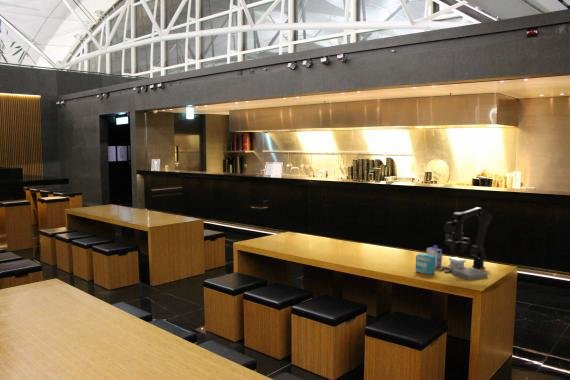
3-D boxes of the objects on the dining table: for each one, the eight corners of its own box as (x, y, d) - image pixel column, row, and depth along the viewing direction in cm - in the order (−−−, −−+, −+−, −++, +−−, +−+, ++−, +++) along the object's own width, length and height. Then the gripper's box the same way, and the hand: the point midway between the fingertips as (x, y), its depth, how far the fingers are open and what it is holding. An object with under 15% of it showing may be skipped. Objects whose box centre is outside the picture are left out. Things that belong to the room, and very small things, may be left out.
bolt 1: (441, 269, 332) (441, 265, 332) (444, 269, 331) (445, 266, 330) (438, 270, 328) (438, 267, 328) (441, 271, 326) (441, 268, 326)
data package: (415, 271, 325) (415, 254, 324) (417, 270, 329) (418, 253, 327) (432, 274, 318) (433, 257, 317) (435, 273, 321) (435, 255, 320)
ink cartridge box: (442, 266, 339) (442, 246, 337) (436, 267, 336) (437, 247, 334) (430, 263, 347) (431, 243, 346) (425, 264, 344) (426, 244, 343)
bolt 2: (450, 271, 326) (450, 268, 326) (453, 272, 324) (453, 269, 324) (444, 272, 324) (444, 269, 323) (446, 273, 322) (446, 269, 321)
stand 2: (469, 271, 326) (470, 267, 326) (487, 277, 313) (487, 272, 312) (451, 274, 320) (452, 269, 320) (468, 280, 306) (469, 275, 306)
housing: (455, 265, 334) (455, 257, 334) (465, 268, 326) (465, 260, 326) (448, 266, 332) (449, 257, 331) (458, 269, 324) (458, 260, 323)
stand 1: (456, 267, 337) (457, 264, 336) (468, 271, 327) (469, 268, 326) (444, 269, 332) (444, 266, 332) (456, 273, 322) (456, 270, 322)
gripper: (459, 227, 338) (458, 249, 339) (438, 230, 330) (438, 252, 331) (471, 230, 328) (470, 253, 329) (451, 233, 320) (450, 256, 321)
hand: (457, 253), depth 328 cm, fingers open, 9 cm apart
